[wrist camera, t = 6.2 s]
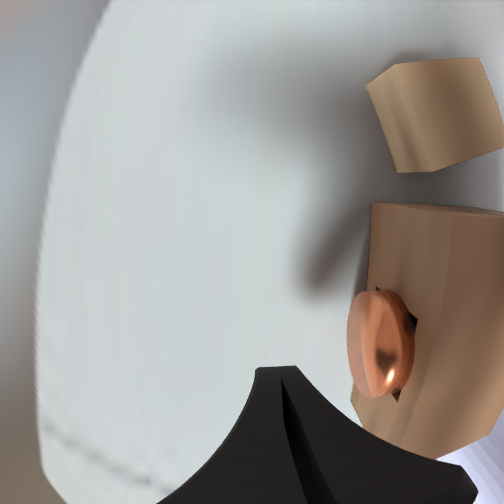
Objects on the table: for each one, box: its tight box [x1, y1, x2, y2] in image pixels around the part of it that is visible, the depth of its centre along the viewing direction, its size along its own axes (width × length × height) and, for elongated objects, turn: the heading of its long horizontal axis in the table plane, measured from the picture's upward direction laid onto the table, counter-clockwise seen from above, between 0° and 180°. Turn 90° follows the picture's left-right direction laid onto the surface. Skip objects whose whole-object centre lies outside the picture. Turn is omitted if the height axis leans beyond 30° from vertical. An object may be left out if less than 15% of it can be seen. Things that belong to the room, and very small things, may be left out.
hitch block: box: [350, 202, 504, 460], centre depth 10 cm, size 6×10×5 cm, turn 1°
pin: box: [347, 289, 418, 398], centre depth 10 cm, size 12×4×4 cm, turn 91°
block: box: [365, 58, 504, 173], centre depth 10 cm, size 5×4×3 cm
